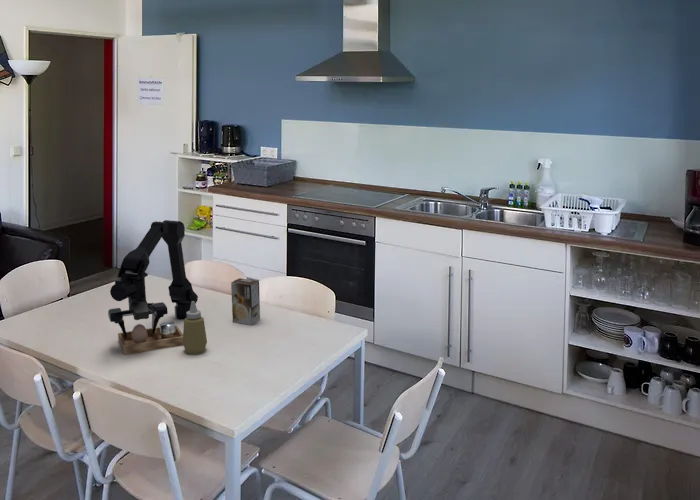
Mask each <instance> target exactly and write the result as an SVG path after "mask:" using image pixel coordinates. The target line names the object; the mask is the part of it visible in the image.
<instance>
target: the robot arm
mask: <svg viewBox="0 0 700 500" xmlns="http://www.w3.org/2000/svg"><path fill="white" fill-rule="evenodd" d="M185 231H186V229H185V225H184V223H183V222H182V221H180V220H179V221H178V220H169V219H168V220H167V219H165V220H163V221H157V220H156V221H152V222H151V224H150V228H149V229H148V230H147V232H146V234H145V235H144V237H143V238H142V239H141V241H140V243H139V244H138V245H137V247H136V248H135V249H133V250H131V251H129V252H128V253H127V254H126V255H125V256H124V258H123V260H122V261H121V264H120V267H119V270H118V272H117V273H118V274H117V278H118V279H116V280H114V284H113V285H112V286H111V287H110V290H109V293H110V296H111V298H112V299H113V300H115V302H121V301H122V302H123V301H124V300H126V299H127V301H128V309H126V310H122V309H121V307H116V308H110V309H108V312H107V316H108V319H109V322H111V323H114V324H118V326H119V327H120V329H121V331H122V332H123V334H124V336H125V338H127V337H126V332H127V331H126V327H125V325H126V324H125V319H124V317H128V316H133V320H134V321H140V320H148V319H149V318H150V315H152V316H151V328H152V333H153V334H154V333H155V329H156V327H158V326H157V325H158V323H159V320H161V318H163V317H164V315H168V312H169V311H168V306H167V305H166V304H165V303H164V302H161V301H160V302H147V294H146V293H147V292H146V277H148V275H149V274H148V272H146V271H147V269H148V267H149V265H150V257H151V255H152V253H153V251H154V250H155V249H156V247H157V245H159V242H160V241H161V240H163V241H164V242H165V243H166V245H167V249H168V250H167V251H168V256H169V263H170V270H171V277H172V281H171V283H170V285H169V286H168V293H169V294H168V296H169V297H170V300H171V303H173V304H175V305H174V317H175V318H176V319H177V320H184V319H185V318H186V317H187V312H188V311H190V306H191V302H192V301H195V304H197V302H198V301H199V299H198V298H199V296H198V295H197V293H196V292H195V291H194V290H193V285H192V283H191V281H190V280H189V279H188V278H187V274H186V267H185V260H184V252H183V246H182V245H183V244H182V242H183V240H184V238H185Z"/></svg>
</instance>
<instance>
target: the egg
mask: <svg viewBox="0 0 700 500" xmlns="http://www.w3.org/2000/svg"><path fill="white" fill-rule="evenodd" d="M146 329H147V328H146V327H145V326H144V324H142V323H137V324H136V325H135V326H134V327H133V328H132V330H131V331H132V340H133V341H134V343H143V342H146V340H147V338H148V333H147V330H146Z"/></svg>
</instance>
